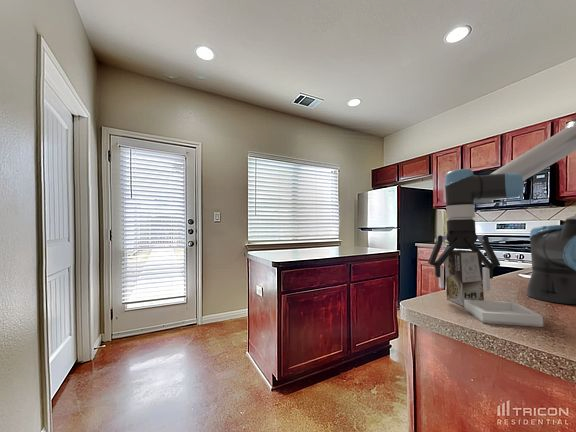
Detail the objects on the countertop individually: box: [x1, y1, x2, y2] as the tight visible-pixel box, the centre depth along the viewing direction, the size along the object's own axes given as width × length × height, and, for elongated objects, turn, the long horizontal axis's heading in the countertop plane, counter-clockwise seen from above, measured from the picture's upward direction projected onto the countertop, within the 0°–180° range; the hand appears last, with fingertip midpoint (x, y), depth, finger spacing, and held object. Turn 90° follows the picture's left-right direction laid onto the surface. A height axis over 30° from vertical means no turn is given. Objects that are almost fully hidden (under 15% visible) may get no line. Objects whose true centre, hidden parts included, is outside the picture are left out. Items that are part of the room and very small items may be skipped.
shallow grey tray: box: [463, 300, 544, 328], centre depth 69 cm, size 12×12×2 cm
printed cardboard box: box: [444, 249, 485, 307], centre depth 83 cm, size 9×6×16 cm
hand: (463, 288), depth 83 cm, fingers open, 12 cm apart
